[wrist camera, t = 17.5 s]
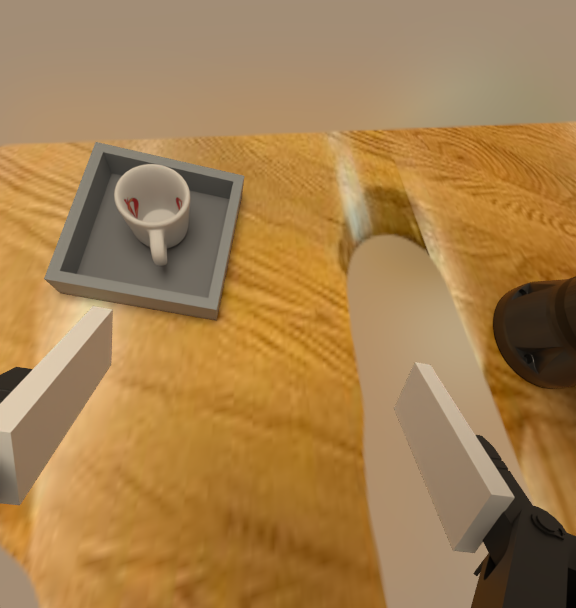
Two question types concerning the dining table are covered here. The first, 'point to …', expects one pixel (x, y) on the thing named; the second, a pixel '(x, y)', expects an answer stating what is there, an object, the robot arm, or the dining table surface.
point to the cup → (154, 207)
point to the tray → (137, 256)
